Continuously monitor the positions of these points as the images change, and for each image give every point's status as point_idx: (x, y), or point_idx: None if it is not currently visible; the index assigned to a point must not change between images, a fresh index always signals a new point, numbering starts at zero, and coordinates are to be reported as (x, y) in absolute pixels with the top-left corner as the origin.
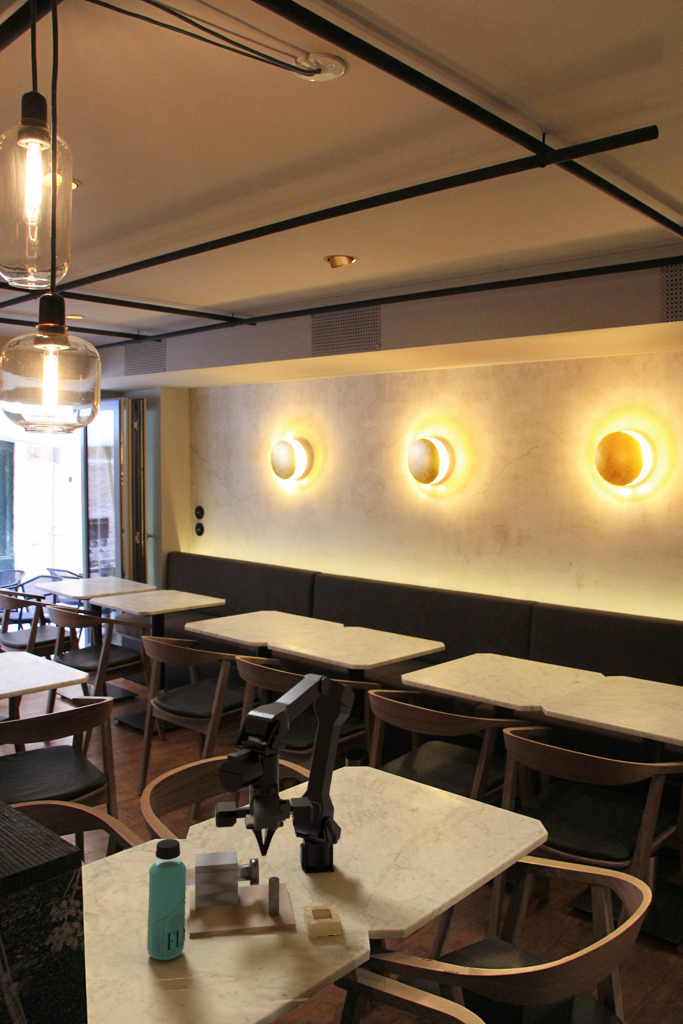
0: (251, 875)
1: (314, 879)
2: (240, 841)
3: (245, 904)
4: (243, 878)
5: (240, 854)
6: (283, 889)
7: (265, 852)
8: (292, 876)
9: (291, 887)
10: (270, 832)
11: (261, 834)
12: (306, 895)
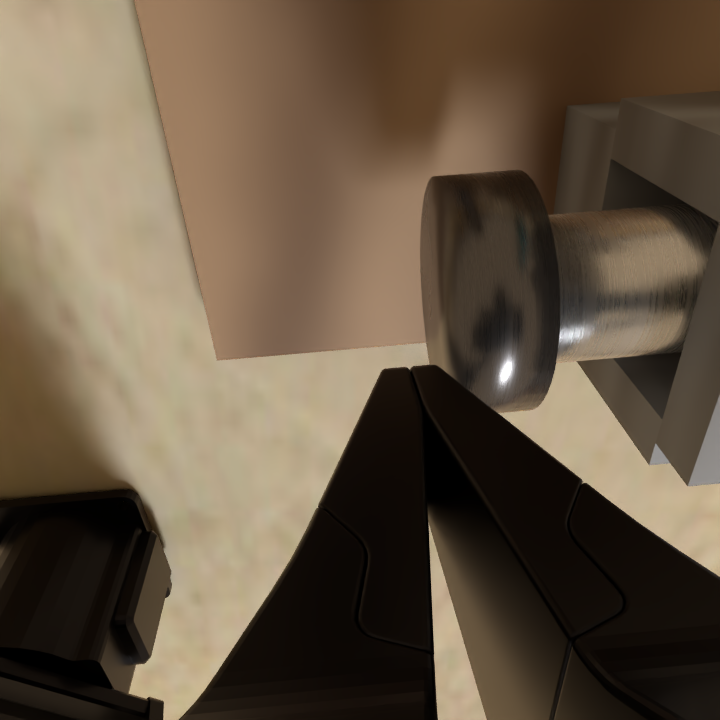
0: (527, 185)
1: (73, 443)
2: (442, 690)
3: (510, 96)
4: (581, 213)
5: (452, 622)
6: (227, 286)
7: (395, 388)
8: (201, 470)
9: (194, 371)
10: (338, 663)
11: (568, 605)
12: (86, 282)
